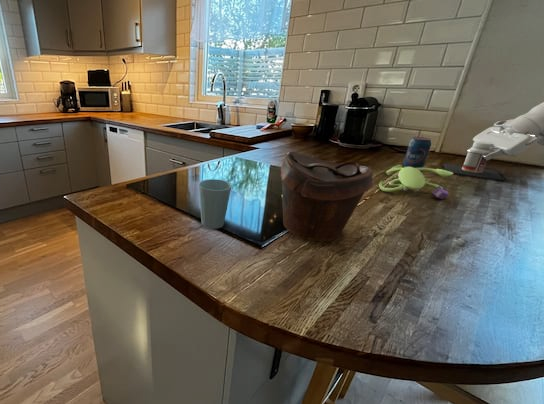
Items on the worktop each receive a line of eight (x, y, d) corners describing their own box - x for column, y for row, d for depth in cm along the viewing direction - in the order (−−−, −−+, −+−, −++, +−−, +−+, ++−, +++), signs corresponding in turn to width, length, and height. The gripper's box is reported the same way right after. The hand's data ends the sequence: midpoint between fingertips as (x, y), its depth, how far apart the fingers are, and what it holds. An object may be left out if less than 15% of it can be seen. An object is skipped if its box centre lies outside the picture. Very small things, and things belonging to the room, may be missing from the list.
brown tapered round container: (377, 245, 65) (402, 167, 58) (292, 252, 62) (308, 170, 55) (328, 211, 81) (343, 146, 74) (259, 215, 78) (267, 148, 71)
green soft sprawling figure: (448, 183, 105) (454, 167, 103) (449, 206, 86) (456, 188, 83) (387, 172, 115) (391, 158, 113) (375, 191, 96) (380, 174, 94)
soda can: (402, 167, 121) (411, 138, 117) (402, 164, 127) (411, 135, 122) (423, 171, 118) (433, 140, 113) (422, 166, 123) (432, 138, 118)
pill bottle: (479, 170, 118) (491, 141, 113) (484, 174, 113) (497, 144, 108) (459, 167, 120) (470, 140, 116) (463, 171, 115) (475, 142, 111)
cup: (202, 232, 69) (204, 191, 65) (193, 218, 76) (194, 180, 72) (232, 229, 71) (236, 188, 67) (221, 215, 78) (224, 178, 74)
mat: (495, 172, 118) (495, 170, 118) (503, 181, 107) (504, 179, 107) (443, 165, 126) (444, 163, 126) (446, 173, 116) (447, 171, 116)
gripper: (547, 143, 99) (500, 169, 105) (503, 132, 118) (464, 155, 124) (538, 129, 99) (490, 155, 104) (494, 120, 117) (456, 143, 123)
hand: (476, 155), depth 114 cm, fingers open, 8 cm apart
